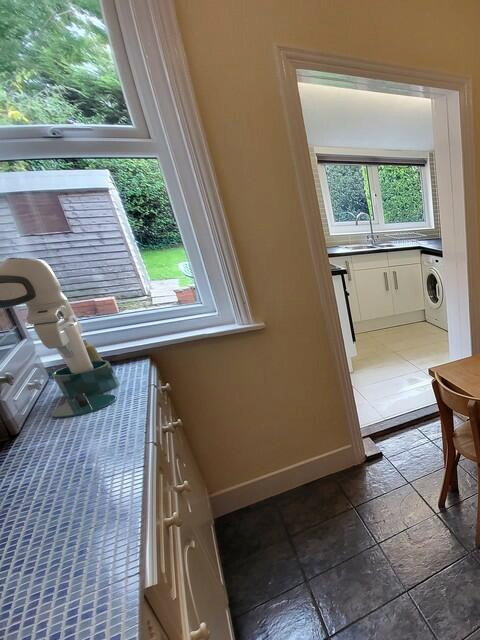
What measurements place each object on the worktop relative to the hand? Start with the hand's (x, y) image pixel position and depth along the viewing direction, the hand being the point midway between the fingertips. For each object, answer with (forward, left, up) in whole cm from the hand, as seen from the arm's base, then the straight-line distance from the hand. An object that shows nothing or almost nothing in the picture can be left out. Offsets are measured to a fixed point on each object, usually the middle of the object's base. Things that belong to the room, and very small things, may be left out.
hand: (74, 354), depth 131 cm
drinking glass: (0, 0, -6) cm, 6 cm away
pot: (0, 0, -13) cm, 13 cm away
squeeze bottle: (-3, +16, -13) cm, 21 cm away
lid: (+2, -16, -13) cm, 20 cm away
